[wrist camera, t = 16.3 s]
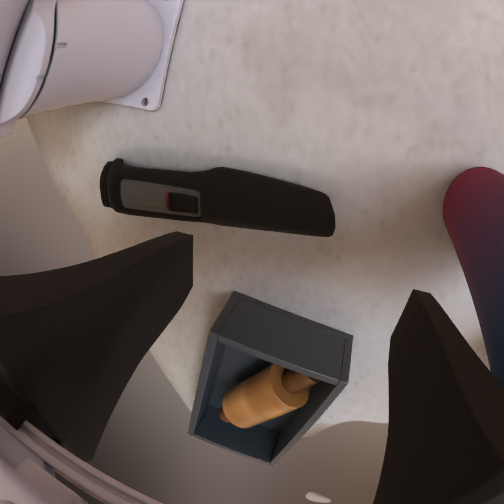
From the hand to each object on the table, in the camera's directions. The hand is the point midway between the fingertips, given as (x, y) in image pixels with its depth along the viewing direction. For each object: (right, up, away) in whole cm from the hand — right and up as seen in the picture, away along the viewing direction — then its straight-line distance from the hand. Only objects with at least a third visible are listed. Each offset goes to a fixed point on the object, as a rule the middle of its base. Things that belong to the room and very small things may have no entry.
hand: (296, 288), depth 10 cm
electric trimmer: (-4, +5, +10) cm, 12 cm away
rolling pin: (0, -9, +16) cm, 18 cm away
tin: (0, -10, +17) cm, 19 cm away
